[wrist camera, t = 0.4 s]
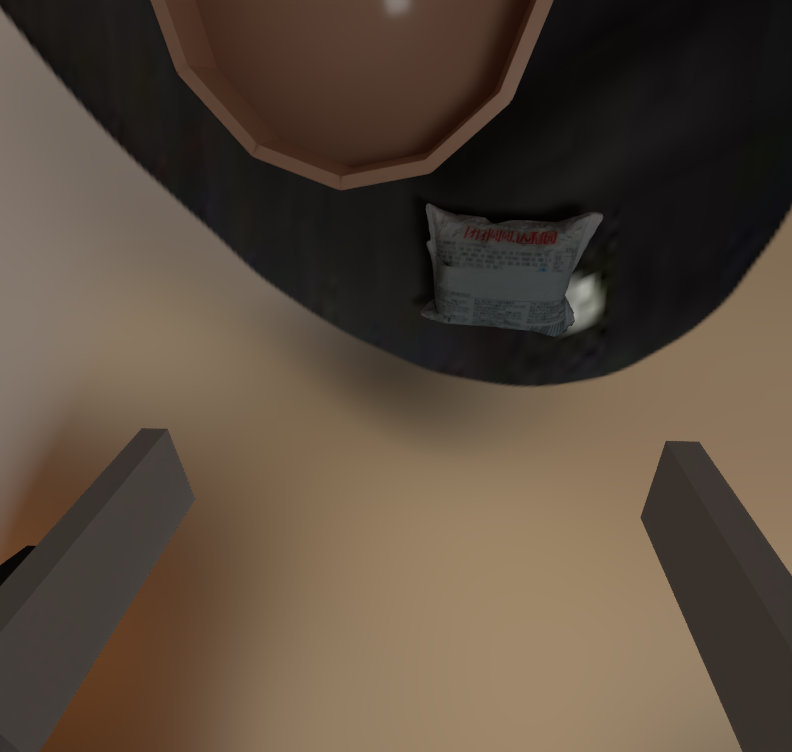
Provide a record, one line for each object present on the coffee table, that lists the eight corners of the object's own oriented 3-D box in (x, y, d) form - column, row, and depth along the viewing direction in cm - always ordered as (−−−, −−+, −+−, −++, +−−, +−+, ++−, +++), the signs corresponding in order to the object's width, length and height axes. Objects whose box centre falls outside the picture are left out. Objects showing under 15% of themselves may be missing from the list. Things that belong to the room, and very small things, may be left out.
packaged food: (430, 196, 34) (423, 212, 30) (598, 207, 33) (615, 225, 28) (422, 306, 38) (416, 333, 34) (569, 319, 37) (581, 349, 33)
